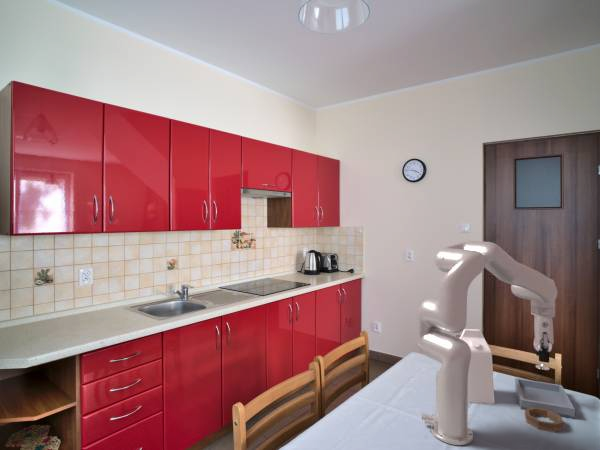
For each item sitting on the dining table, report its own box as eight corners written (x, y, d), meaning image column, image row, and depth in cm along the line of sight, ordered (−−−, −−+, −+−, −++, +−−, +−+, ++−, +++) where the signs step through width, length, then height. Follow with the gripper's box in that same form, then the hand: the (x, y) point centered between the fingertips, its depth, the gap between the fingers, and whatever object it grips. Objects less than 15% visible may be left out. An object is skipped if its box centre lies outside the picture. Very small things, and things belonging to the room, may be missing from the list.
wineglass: (555, 369, 135) (555, 337, 135) (543, 371, 134) (543, 339, 134) (541, 363, 141) (541, 332, 141) (529, 365, 139) (529, 334, 139)
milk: (482, 389, 148) (482, 325, 148) (494, 403, 137) (494, 334, 137) (451, 388, 150) (451, 325, 149) (461, 402, 138) (461, 334, 138)
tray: (520, 409, 133) (520, 399, 133) (514, 386, 151) (514, 377, 151) (574, 419, 126) (574, 409, 126) (561, 394, 144) (561, 385, 144)
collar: (527, 426, 121) (527, 419, 121) (523, 411, 131) (523, 405, 131) (565, 434, 117) (565, 427, 117) (558, 418, 126) (558, 411, 126)
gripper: (559, 317, 128) (559, 369, 128) (550, 307, 143) (550, 352, 143) (534, 315, 131) (534, 365, 131) (527, 305, 146) (527, 350, 147)
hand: (542, 358), depth 137 cm, fingers closed on wineglass, 5 cm apart
